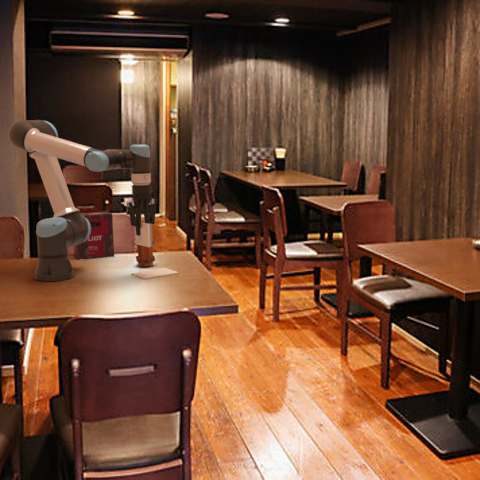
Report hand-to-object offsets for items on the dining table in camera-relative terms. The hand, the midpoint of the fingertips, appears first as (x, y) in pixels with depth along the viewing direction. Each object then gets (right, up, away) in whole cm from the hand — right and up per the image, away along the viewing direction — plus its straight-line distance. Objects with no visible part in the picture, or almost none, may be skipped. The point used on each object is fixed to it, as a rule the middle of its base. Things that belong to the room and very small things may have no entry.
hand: (143, 242), depth 265 cm
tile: (0, -1, 0) cm, 1 cm away
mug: (-3, -10, +24) cm, 26 cm away
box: (-29, -7, +42) cm, 52 cm away
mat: (+4, -13, +6) cm, 15 cm away
